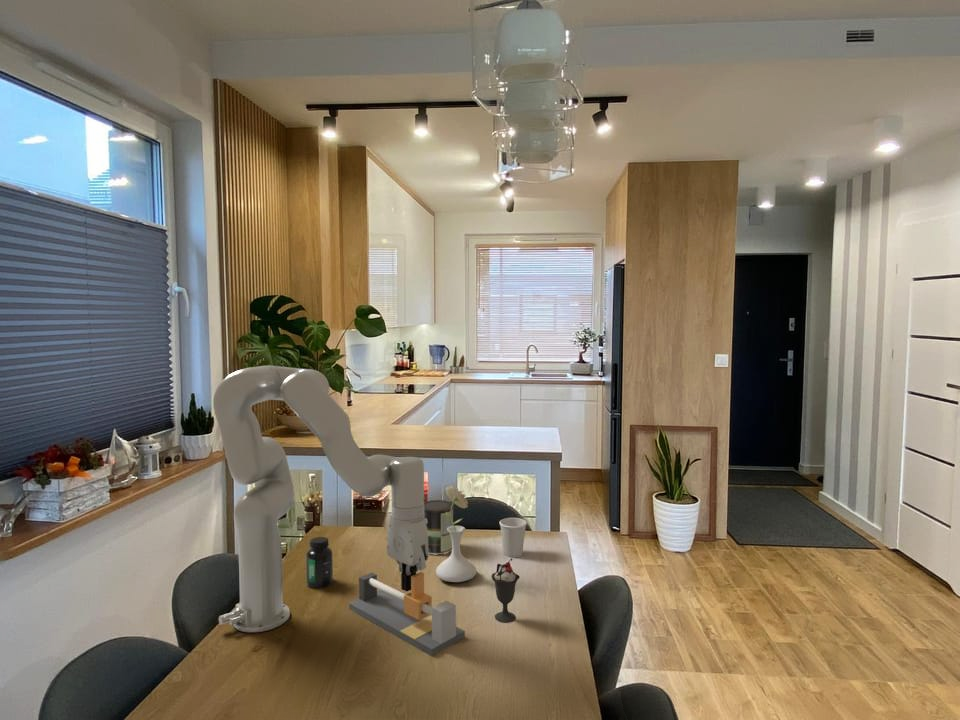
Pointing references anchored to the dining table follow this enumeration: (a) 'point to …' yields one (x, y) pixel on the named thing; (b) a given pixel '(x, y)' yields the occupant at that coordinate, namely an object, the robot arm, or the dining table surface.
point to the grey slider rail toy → (407, 616)
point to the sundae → (505, 589)
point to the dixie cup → (513, 536)
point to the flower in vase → (456, 546)
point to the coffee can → (438, 526)
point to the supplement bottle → (319, 563)
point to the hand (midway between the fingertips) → (408, 588)
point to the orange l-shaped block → (416, 597)
